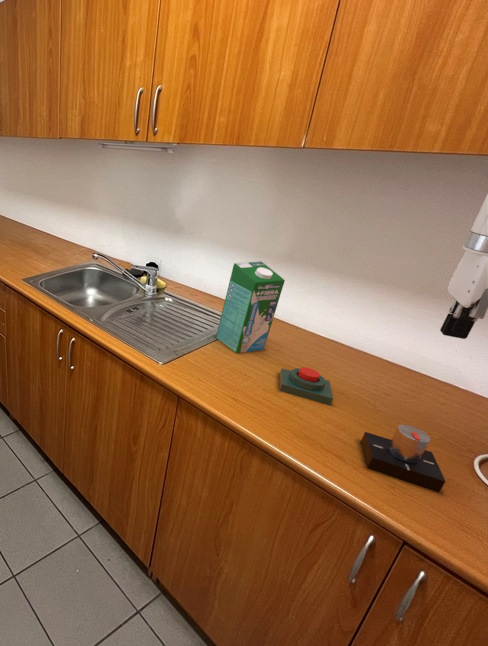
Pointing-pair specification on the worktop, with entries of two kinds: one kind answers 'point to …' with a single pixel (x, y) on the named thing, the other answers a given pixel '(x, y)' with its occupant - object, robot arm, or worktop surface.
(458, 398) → the worktop surface
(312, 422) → the worktop surface
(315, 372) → the button
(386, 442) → the dial panel
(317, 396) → the button block
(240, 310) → the milk carton
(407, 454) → the dial
